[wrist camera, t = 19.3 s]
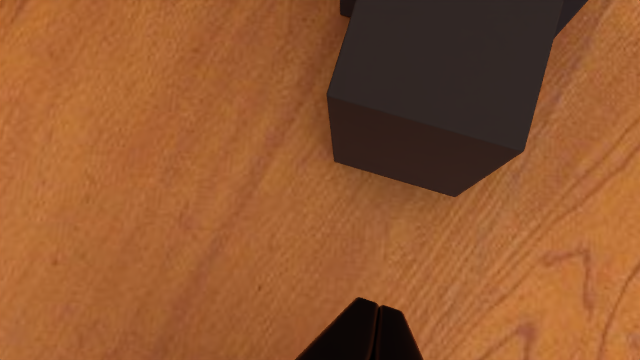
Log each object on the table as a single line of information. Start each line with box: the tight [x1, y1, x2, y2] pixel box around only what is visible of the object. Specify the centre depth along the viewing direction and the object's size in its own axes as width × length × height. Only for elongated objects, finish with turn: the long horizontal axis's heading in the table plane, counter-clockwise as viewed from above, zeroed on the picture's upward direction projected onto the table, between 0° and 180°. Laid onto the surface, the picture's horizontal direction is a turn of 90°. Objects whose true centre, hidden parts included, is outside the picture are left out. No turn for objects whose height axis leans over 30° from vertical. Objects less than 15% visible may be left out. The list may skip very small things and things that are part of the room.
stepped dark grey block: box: [327, 0, 564, 197], centre depth 19 cm, size 9×5×9 cm, turn 163°
